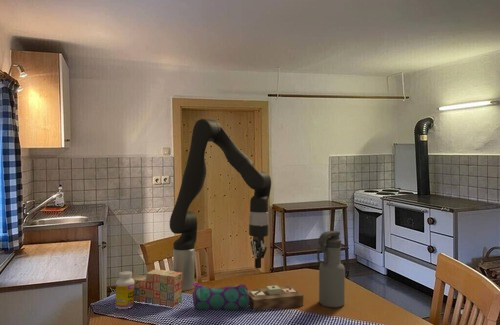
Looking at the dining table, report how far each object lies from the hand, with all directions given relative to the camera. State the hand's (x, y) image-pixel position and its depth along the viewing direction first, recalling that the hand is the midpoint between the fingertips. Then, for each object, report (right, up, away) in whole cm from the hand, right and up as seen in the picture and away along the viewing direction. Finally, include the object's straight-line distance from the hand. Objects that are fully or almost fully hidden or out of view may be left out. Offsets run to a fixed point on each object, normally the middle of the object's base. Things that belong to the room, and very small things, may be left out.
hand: (257, 267), depth 146 cm
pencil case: (-14, -14, -5) cm, 21 cm away
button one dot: (+6, -11, +2) cm, 12 cm away
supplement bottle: (-50, -14, -4) cm, 52 cm away
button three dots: (0, -12, 0) cm, 12 cm away
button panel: (+6, -14, +2) cm, 15 cm away
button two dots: (+12, -12, +3) cm, 18 cm away
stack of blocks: (-41, -14, +1) cm, 43 cm away
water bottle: (+29, -15, +1) cm, 32 cm away
